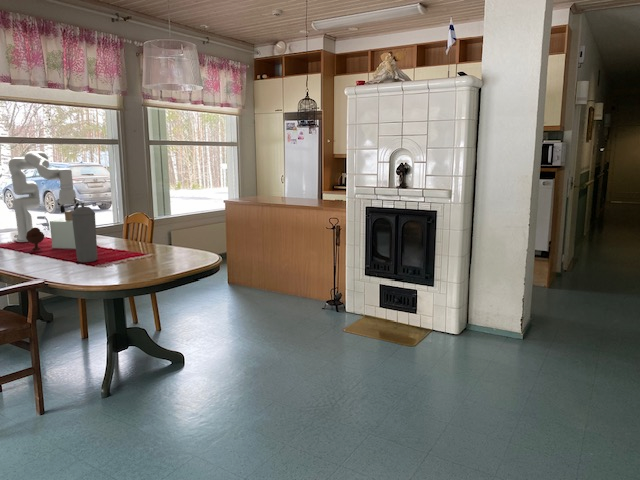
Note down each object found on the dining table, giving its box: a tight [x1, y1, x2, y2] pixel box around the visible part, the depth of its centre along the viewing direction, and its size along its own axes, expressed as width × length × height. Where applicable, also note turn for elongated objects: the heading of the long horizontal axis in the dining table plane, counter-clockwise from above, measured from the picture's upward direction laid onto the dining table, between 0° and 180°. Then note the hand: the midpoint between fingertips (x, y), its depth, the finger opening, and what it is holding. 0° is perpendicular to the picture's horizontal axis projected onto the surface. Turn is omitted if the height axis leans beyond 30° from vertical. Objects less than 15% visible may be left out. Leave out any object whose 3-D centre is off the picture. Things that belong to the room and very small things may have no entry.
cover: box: [49, 210, 76, 250], centre depth 328 cm, size 17×17×24 cm
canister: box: [71, 202, 98, 263], centre depth 285 cm, size 13×13×35 cm
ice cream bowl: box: [26, 227, 45, 251], centre depth 317 cm, size 11×11×15 cm
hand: (69, 212), depth 325 cm, fingers open, 9 cm apart
